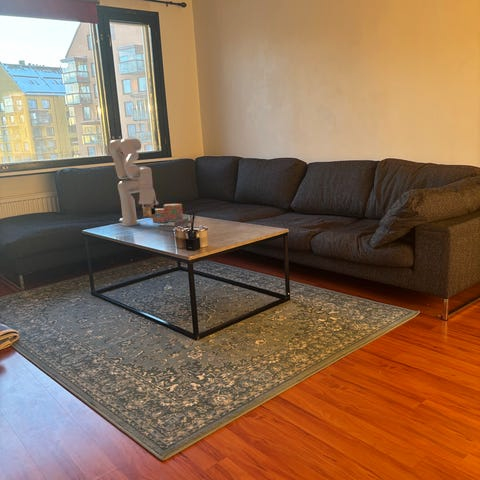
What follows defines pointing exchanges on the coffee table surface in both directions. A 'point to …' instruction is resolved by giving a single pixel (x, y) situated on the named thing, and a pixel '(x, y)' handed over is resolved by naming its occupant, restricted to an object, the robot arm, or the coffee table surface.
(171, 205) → the stack of blocks
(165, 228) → the dock
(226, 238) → the coffee table surface
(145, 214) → the pedestal
